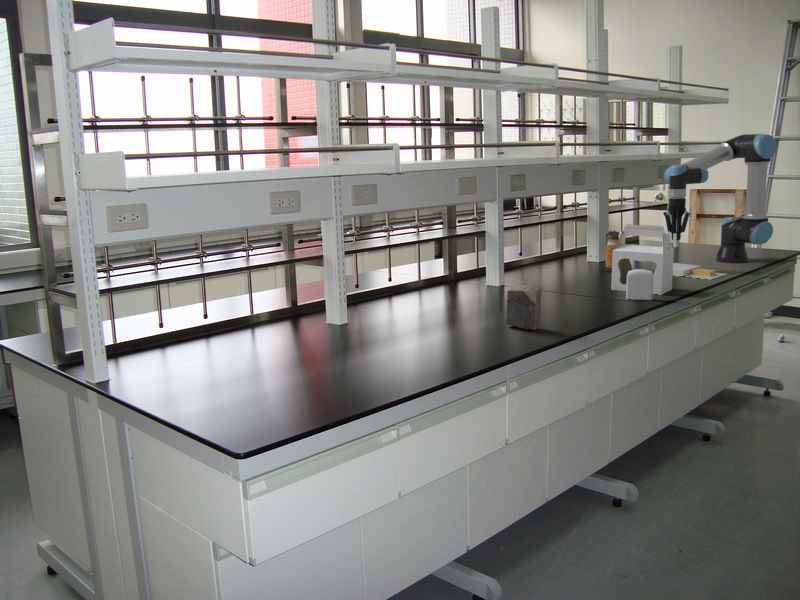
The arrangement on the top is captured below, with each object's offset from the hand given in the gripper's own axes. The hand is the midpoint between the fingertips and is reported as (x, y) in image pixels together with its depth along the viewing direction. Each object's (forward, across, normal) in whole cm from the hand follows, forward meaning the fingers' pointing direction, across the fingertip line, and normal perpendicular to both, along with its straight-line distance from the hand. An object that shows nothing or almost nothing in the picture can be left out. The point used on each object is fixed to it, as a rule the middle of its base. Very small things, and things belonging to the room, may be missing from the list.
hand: (675, 246), depth 353 cm
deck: (+12, +2, -2) cm, 13 cm away
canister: (+12, -24, -17) cm, 31 cm away
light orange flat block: (+12, +14, -1) cm, 19 cm away
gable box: (+11, +10, -51) cm, 53 cm away
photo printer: (+11, +19, -69) cm, 72 cm away
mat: (+13, +16, -2) cm, 21 cm away
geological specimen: (+9, +13, -137) cm, 138 cm away
